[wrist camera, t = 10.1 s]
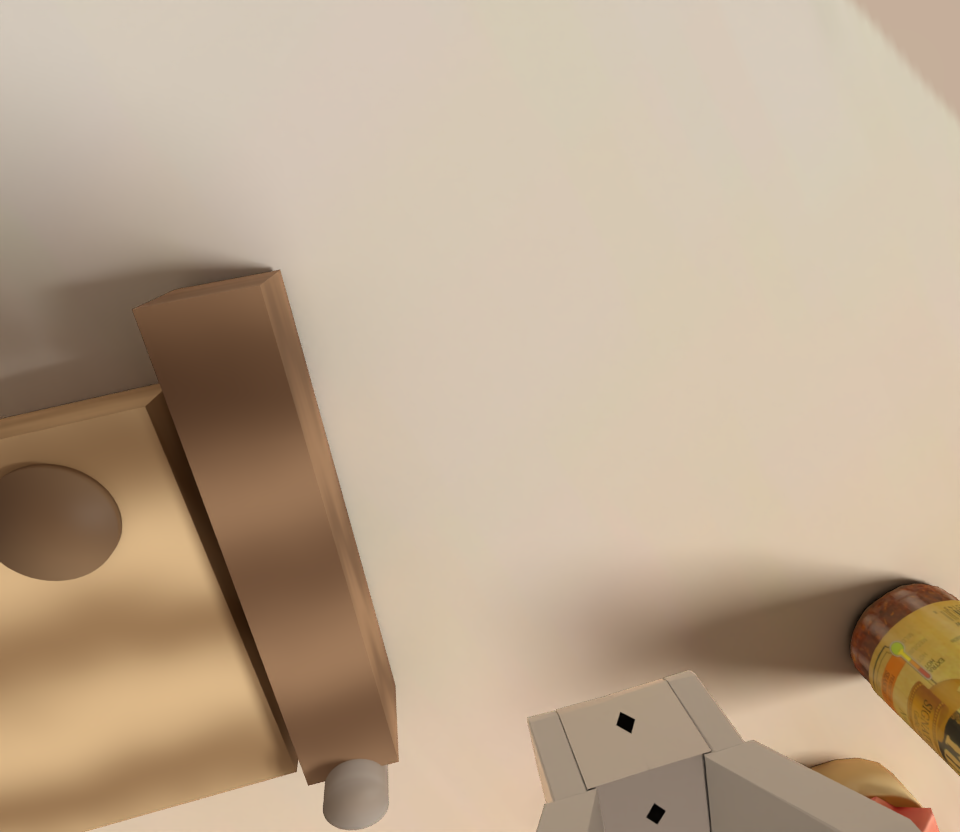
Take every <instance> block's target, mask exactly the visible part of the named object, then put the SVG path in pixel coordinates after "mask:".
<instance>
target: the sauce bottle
mask: <svg viewBox="0 0 960 832" xmlns="http://www.w3.org/2000/svg"><path fill="white" fill-rule="evenodd" d="M850 650H851V658H852V660H853V662H854V665H855V667H856V669H857V670H858V671H859V672H860V673H861V674H862V675H863V677H864V678H865V679H866V680H867V681H868V682H869V683H870V684H871V686H872V688H873V690H874V691H875V692H876V693H877V694H878V695H879V696H880V697H881V698H882V699H883V700H884V701H885V702H886V703H887V704H888V705H889V706H890V707H891V708H892V709H893V710H894V711H895V712H896V713H897V714H898V715H899V716H900V717H901V718H902V719H903V720H904V721H905V722H906V723H907V724H908V725H909V726H910V727H911V728H912V729H913V730H914V731H915V732H916V733H917V734H918V735H919V736H920V737H921V738H922V739H923V740H924V741H925V742H926V743H927V744H928V745H929V746H930V747H931V748H932V749H933V750H934V751H935V752H936V753H937V754H938V755H939V756H940V757H941V758H942V759H943V760H944V761H945V762H946V763H947V764H948V765H949V766H950V767H951V768H952V769H953V770H954V771H955V772H956V773H957V774H958V775H959V776H960V601H959V600H958V599H957V598H956V597H954V596H953V595H951V594H949V593H948V592H946V591H945V590H943V589H941V588H939V587H937V586H931V585H926V584H923V583H919V584H914V583H913V584H911V585H903V586H900V587H898V588H896V589H894V590H892V591H891V592H888V593H886V594H885V595H883V596H882V597H881V598H880V599H878V600H876V601H875V602H874V603H873V604H871V605H870V606H869V607H868V608H867V609H866V610H865V611H864V612H863V614H862V615H861V617H860V619H859V620H858V621H857V624H856V627H855V629H854V631H853V634H852V639H851V644H850Z"/></svg>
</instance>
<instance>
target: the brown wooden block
mask: <svg viewBox="0 0 960 832" xmlns="http://www.w3.org/2000/svg"><path fill="white" fill-rule="evenodd" d="M132 311H133V314H134V316H135V319H136V322H137V324H138V327H139V330H140V332H141V335H142V338H143V341H144V343H145V346H146V349H147V351H148V354H149V357H150V359H151V362H152V365H153V368H154V370H155V373H156V376H157V378H158V381H159V384H160V386H161V389H162V392H163V395H164V397H165V400H166V403H167V405H168V408H169V411H170V414H171V416H172V419H173V422H174V424H175V427H176V430H177V432H178V435H179V438H180V441H181V443H182V446H183V449H184V451H185V454H186V457H187V459H188V462H189V465H190V468H191V470H192V473H193V476H194V478H195V481H196V484H197V486H198V489H199V492H200V495H201V497H202V500H203V503H204V505H205V508H206V511H207V513H208V516H209V519H210V522H211V524H212V527H213V530H214V532H215V535H216V538H217V540H218V543H219V546H220V549H221V551H222V554H223V557H224V559H225V562H226V565H227V567H228V570H229V573H230V576H231V578H232V581H233V584H234V586H235V589H236V592H237V594H238V597H239V600H240V603H241V605H242V608H243V611H244V613H245V616H246V619H247V621H248V624H249V627H250V630H251V632H252V635H253V638H254V640H255V643H256V646H257V649H258V651H259V654H260V657H261V659H262V662H263V665H264V667H265V670H266V673H267V676H268V678H269V681H270V684H271V686H272V689H273V692H274V694H275V697H276V700H277V703H278V705H279V708H280V711H281V713H282V716H283V719H284V721H285V724H286V727H287V730H288V732H289V735H290V738H291V740H292V743H293V746H294V748H295V751H296V754H297V757H298V759H299V762H300V765H301V767H302V770H303V773H304V775H305V778H306V781H307V784H308V786H309V785H312V784H316V783H320V782H324V781H325V790H324V802H323V813H324V816H325V818H326V820H327V821H328V822H329V823H330V824H332V825H333V826H335V827H337V828H340V829H344V830H359V829H364V828H367V827H369V826H372V825H373V824H375V823H377V822H378V821H379V820H380V819H381V818H382V817H383V816H384V815H385V813H386V812H387V809H388V805H389V796H388V764H391V763H395V762H399V758H398V735H397V713H396V690H395V683H394V679H393V675H392V672H391V668H390V665H389V661H388V657H387V654H386V650H385V646H384V643H383V639H382V636H381V632H380V628H379V625H378V621H377V618H376V614H375V610H374V607H373V603H372V600H371V596H370V592H369V589H368V585H367V582H366V578H365V574H364V571H363V567H362V563H361V560H360V556H359V553H358V549H357V545H356V542H355V538H354V535H353V531H352V527H351V524H350V520H349V517H348V513H347V509H346V506H345V502H344V499H343V495H342V491H341V488H340V484H339V480H338V477H337V473H336V470H335V466H334V462H333V459H332V455H331V452H330V448H329V444H328V441H327V437H326V434H325V430H324V426H323V423H322V419H321V416H320V412H319V408H318V405H317V401H316V398H315V394H314V390H313V387H312V383H311V379H310V376H309V372H308V369H307V365H306V361H305V358H304V354H303V351H302V347H301V343H300V340H299V336H298V333H297V329H296V325H295V322H294V318H293V315H292V311H291V307H290V304H289V300H288V296H287V293H286V289H285V286H284V282H283V278H282V275H281V271H280V270H277V271H271V272H266V273H261V274H255V275H250V276H244V277H239V278H234V279H228V280H223V281H218V282H212V283H207V284H201V285H196V286H191V287H185V288H180V289H175V290H173V291H171V292H169V293H166V294H164V295H162V296H160V297H158V298H156V299H153V300H151V301H149V302H147V303H145V304H143V305H141V306H138V307H136V308H134V309H132Z"/></svg>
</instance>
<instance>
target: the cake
mask: <svg viewBox="0 0 960 832" xmlns="http://www.w3.org/2000/svg"><path fill="white" fill-rule="evenodd" d="M810 769H812V770H814V771H816V772H818V773H820V774H822V775H824V776H826V777H828V778H830V779H832V780H834V781H836V782H838V783H839V784H841V785H843V786H845V787H847V788H849V789H851V790H853V791H855V792H857V793H859V794H861V795H863V796H865V797H867V798H869V799H871V800H873V801H875V802H877V803H879V804H881V805H883V806H885V807H887V808H889V809H891V810H893V811H895V812H897V813H899V814H901V815H903V816H905V817H907V818H909V819H910V820H911V821H912V822H913V823H914V824H915V825H916V826H917V827H918V828H919V830H920V831H921V832H939V829H938V826H937V823H936V821H935V818H934V815H933V813H932V810H931V808H923V807H922V805H921V804H920V803H919V802H918V801H917V800H916V799H915V798H914V797H913V795H912V794H911V793H910V792H909V791H908V790H907V789H906V788H905V787H904V785H903V784H902V783H901V782H900V781H899V780H898V779H897V778H896V777H895V776H894V774H893V773H891V772H890V771H889V770H888V769H886V768H885V767H884V766H882V765H881V764H880V763H878V762H873V761H869V760H865V759H861V758H853V759H840V760H833V761H830V762H827V763H824V764H821V765H818V766H815V767H812V768H810Z"/></svg>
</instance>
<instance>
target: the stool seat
mask: <svg viewBox="0 0 960 832" xmlns="http://www.w3.org/2000/svg"><path fill="white" fill-rule="evenodd" d="M297 764H298V757H297V754H296V751H295V748H294V746H293V743H292V740H291V738H290V735H289V732H288V730H287V727H286V724H285V721H284V719H283V716H282V713H281V711H280V708H279V705H278V703H277V700H276V697H275V694H274V692H273V689H272V686H271V684H270V681H269V678H268V676H267V673H266V670H265V667H264V665H263V662H262V659H261V657H260V654H259V651H258V649H257V646H256V643H255V640H254V638H253V635H252V632H251V630H250V627H249V624H248V621H247V619H246V616H245V613H244V611H243V608H242V605H241V603H240V600H239V597H238V594H237V592H236V589H235V586H234V584H233V581H232V578H231V576H230V573H229V570H228V567H227V565H226V562H225V559H224V557H223V554H222V551H221V549H220V546H219V543H218V540H217V538H216V535H215V532H214V530H213V527H212V524H211V522H210V519H209V516H208V513H207V511H206V508H205V505H204V503H203V500H202V497H201V495H200V492H199V489H198V486H197V484H196V481H195V478H194V476H193V473H192V470H191V468H190V465H189V462H188V459H187V457H186V454H185V451H184V449H183V446H182V443H181V441H180V438H179V435H178V432H177V430H176V427H175V424H174V422H173V419H172V416H171V414H170V411H169V408H168V405H167V403H166V400H165V397H164V395H163V392H162V389H161V386H160V384H159V383H158V384H154V385H149V386H145V387H141V388H136V389H132V390H127V391H123V392H118V393H114V394H109V395H105V396H100V397H96V398H92V399H87V400H83V401H78V402H74V403H69V404H65V405H60V406H56V407H52V408H47V409H43V410H38V411H34V412H29V413H25V414H20V415H16V416H11V417H7V418H3V419H0V832H85V831H89V830H92V829H96V828H100V827H103V826H107V825H110V824H114V823H117V822H121V821H124V820H128V819H131V818H135V817H138V816H142V815H145V814H149V813H153V812H156V811H160V810H163V809H167V808H170V807H174V806H177V805H181V804H184V803H188V802H191V801H195V800H199V799H202V798H206V797H209V796H213V795H216V794H220V793H223V792H227V791H230V790H234V789H237V788H241V787H245V786H248V785H252V784H255V783H259V782H262V781H266V780H269V779H273V778H276V777H280V776H283V775H287V774H290V773H294V772H297Z"/></svg>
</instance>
